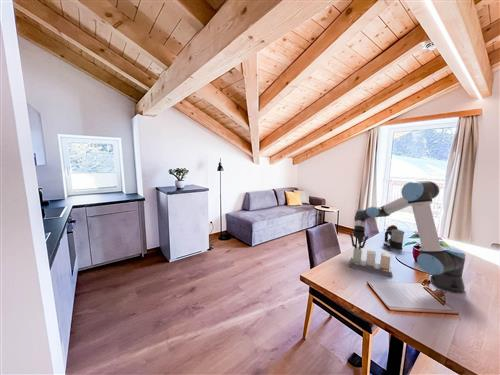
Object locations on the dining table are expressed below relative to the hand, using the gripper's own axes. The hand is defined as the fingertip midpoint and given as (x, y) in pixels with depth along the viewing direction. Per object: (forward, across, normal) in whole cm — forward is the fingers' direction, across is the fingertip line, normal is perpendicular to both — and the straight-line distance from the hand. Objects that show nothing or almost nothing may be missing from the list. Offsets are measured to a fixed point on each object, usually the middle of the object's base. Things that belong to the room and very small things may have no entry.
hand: (357, 255), depth 153 cm
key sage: (+5, 0, 0) cm, 5 cm away
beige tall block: (+4, -17, -1) cm, 18 cm away
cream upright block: (+4, -9, -1) cm, 9 cm away
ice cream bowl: (-43, -28, -50) cm, 72 cm away
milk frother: (-28, -27, -36) cm, 52 cm away
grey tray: (+6, -9, -1) cm, 11 cm away
